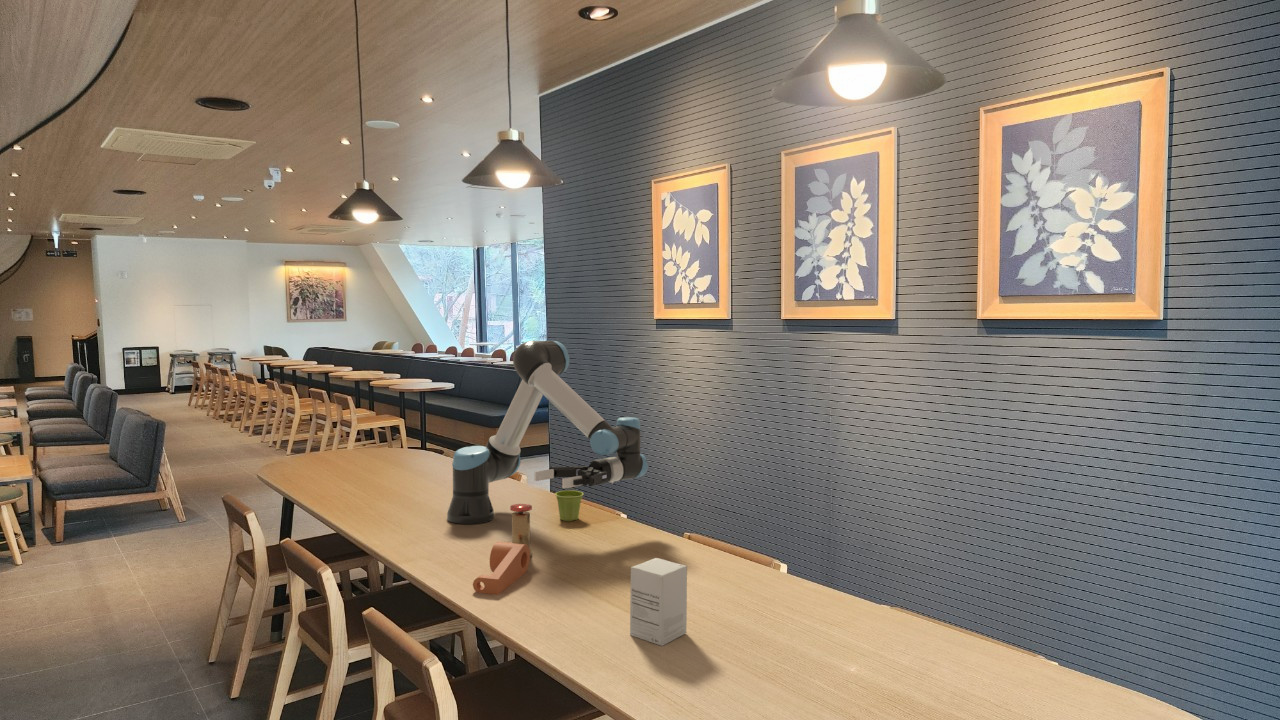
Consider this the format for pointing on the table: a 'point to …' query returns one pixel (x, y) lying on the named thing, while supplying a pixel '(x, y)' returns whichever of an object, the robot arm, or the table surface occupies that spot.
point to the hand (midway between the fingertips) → (548, 479)
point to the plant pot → (569, 504)
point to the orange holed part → (504, 567)
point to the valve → (521, 524)
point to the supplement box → (658, 601)
